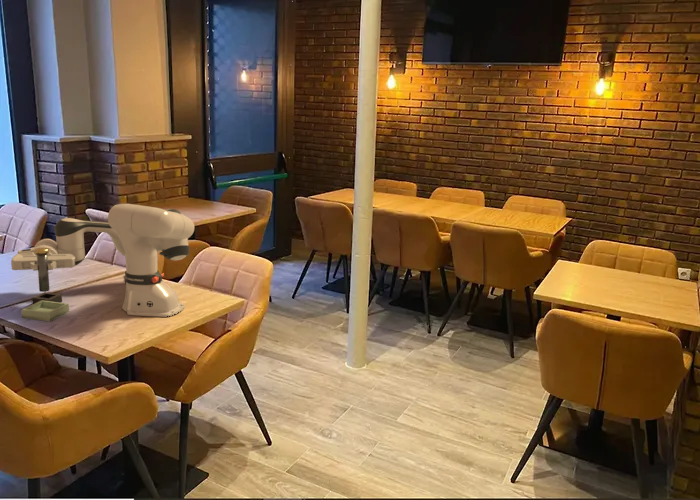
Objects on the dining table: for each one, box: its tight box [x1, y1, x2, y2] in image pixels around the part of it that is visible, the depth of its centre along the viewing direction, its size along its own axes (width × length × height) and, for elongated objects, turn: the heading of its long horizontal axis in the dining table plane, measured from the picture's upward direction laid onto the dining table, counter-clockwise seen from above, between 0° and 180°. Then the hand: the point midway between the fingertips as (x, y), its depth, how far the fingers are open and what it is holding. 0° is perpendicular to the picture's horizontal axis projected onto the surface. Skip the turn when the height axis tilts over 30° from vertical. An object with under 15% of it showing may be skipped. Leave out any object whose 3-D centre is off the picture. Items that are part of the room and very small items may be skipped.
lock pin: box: [35, 248, 50, 293], centre depth 202 cm, size 4×4×15 cm
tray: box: [21, 300, 70, 322], centre depth 203 cm, size 11×11×3 cm
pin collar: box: [31, 291, 63, 305], centre depth 213 cm, size 7×7×3 cm
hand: (42, 268), depth 201 cm, fingers closed on lock pin, 3 cm apart
